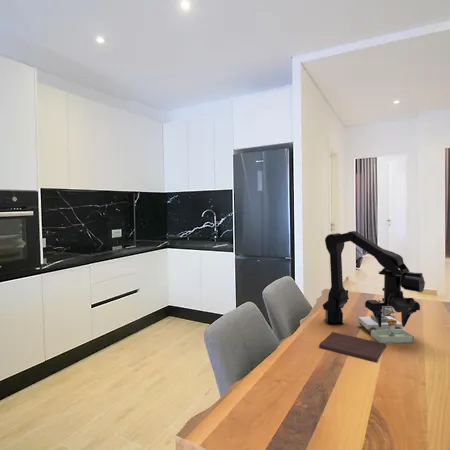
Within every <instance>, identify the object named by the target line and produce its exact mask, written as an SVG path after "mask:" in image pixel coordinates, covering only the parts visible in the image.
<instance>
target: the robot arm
mask: <svg viewBox="0 0 450 450" xmlns="http://www.w3.org/2000/svg"><path fill="white" fill-rule="evenodd" d="M324 242H325V247H326V251H327V252H328V254H329V262H330V263H329V266H330V268H329V269H330V286H331V287H330V289H329V291H328V296H327V300H326V301H325V302H324V303H323V304H322V308H323V310H324V311H325V318H324V319H323V320H324V321H325V323H326V324H327V325H330V326H331V325H332V326H334V325H335V326H337V325H339V326H340V325H344V323H343V322H344V319H343V317H344V313H343V308H344V307H345V305H346V304H347V303H348V300H350V299H349V290H348V289H345V288H344V284H343V280H344V279H343V264H342V263H343V260H342V259H343V258H342V253H343V250H344V248H345V243H347V242H351V243H352V244H354V245H356V246H357V247H359V248H360V249H362V250H363V251H365V252H366V253H368V254H370V255H371V256H372V257H374V258H375V259H376V261H377V262H378V264H379V265H380V266H381V267H382V269H381V270H380V271H379V272H378V275H381V276H384V277H383V281H384V282H383V287H382V291H383V297H382V298H381V300H382V301H384V302H383V303H380V302H379V301H378V300H377V299H367V300H366V301H365V303H364V308H367V309H368V310H369V311H371V312H372V315H374V316H375V318H376V321H377V323H378V326H379V327H381V314H382V313H383V312H382V311H381V310H382V308H389V307H393V311H394V312H396V313H401V314H400V315H401V316H400V317H401V323H402V328H404V327H406V325H407V322H408V321H409V318H410V317H411V315H412V314H414V313H417V311H420V310H421V305H420V303H419V302H418V301H416V300H415V299H414V298H413V297H405V296H404V291H403V290H401V289H404V290H406V291H411V292H417V293H423V292H424V290H425V285H426V282H425V278H424V276H423V273H422V272H413V271H412V272H411V271H410V269H409V268H408V267H407V265H406V264H405V262H404V257H403V256H402V255H401V254H398V253H396V252H393V251H390V250H388V249H385V248H382V247H381V246H379V245H377V244H375V243H374V242H373V241H372V240H370V239H368V238H366V237H365V236H363V235H362V234H360V233H359V232H358V231H356V230H352V231H348V232H345V233H339V232H336V233H331V234H328V235H326V237H325V238H324Z"/></svg>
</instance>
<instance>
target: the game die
mask: <svg viewBox="0 0 450 450" xmlns="http://www.w3.org/2000/svg"><path fill="white" fill-rule="evenodd" d="M377 301H378V302H380V303H383V302H384V301H382V299H381V300H380V299H378V300H377ZM381 311H382V312H383V313H382V314H381V315H384V316H391V317H392V314H395V311H394V308H393V307H389V308H382V310H381Z"/></svg>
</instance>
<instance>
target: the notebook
mask: <svg viewBox="0 0 450 450" xmlns="http://www.w3.org/2000/svg"><path fill="white" fill-rule="evenodd" d="M386 344H387V343H386ZM386 344H384V343H379V342H377V341H376V340H375V341H374V340H371V339H366V338H361V337H356V336H352V335H348V334H343V333H339V332H335V331H332V332H331V333H330V334H329V335H327V337H326V338H324V340H321V342H319V346H318V348H320V349H323V350H327V351H330V352H333V353H338V354H342V355H346V356H351V357H354V358H358V359H361V360H364V361H369V362H373V363H378V360H379V359H380V357H381V356H382V353H383V352H384V349H385V348H386V347H387V345H386Z"/></svg>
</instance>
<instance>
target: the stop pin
mask: <svg viewBox="0 0 450 450" xmlns="http://www.w3.org/2000/svg"><path fill="white" fill-rule="evenodd" d="M396 320H397V319H396ZM396 320H393V319H387V323H388V329H387V330H388V336H395V324H397V321H398V320H397V321H396Z"/></svg>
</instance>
